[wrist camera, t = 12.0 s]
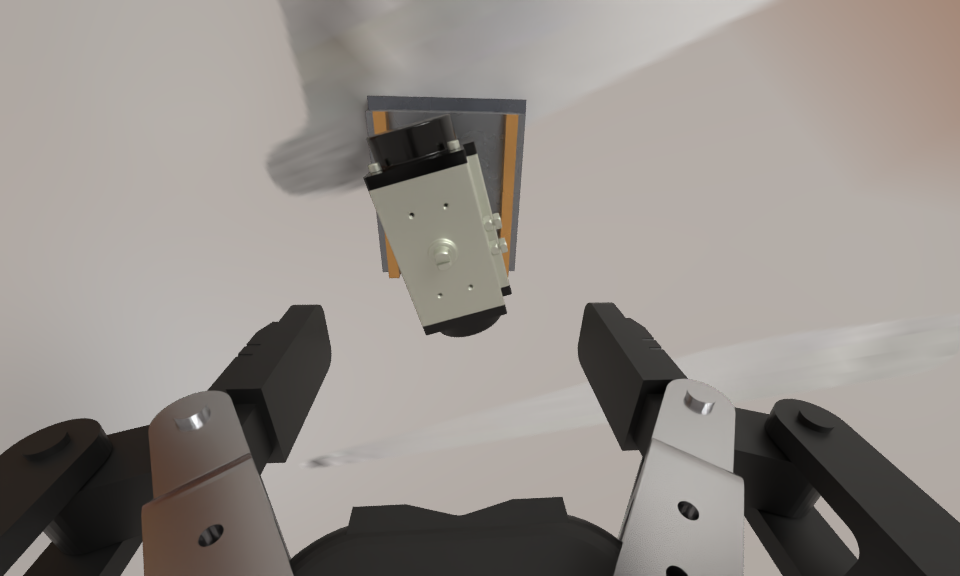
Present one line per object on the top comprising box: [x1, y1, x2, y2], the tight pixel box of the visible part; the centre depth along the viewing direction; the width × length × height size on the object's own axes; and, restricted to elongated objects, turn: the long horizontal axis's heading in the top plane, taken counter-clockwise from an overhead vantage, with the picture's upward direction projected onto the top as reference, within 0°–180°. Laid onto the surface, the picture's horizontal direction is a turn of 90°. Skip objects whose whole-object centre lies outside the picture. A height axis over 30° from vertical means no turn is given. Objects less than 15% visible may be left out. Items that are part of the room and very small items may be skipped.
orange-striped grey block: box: [366, 96, 526, 278], centre depth 32 cm, size 15×14×11 cm
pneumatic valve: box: [364, 114, 512, 337], centre depth 22 cm, size 6×12×12 cm, turn 14°
